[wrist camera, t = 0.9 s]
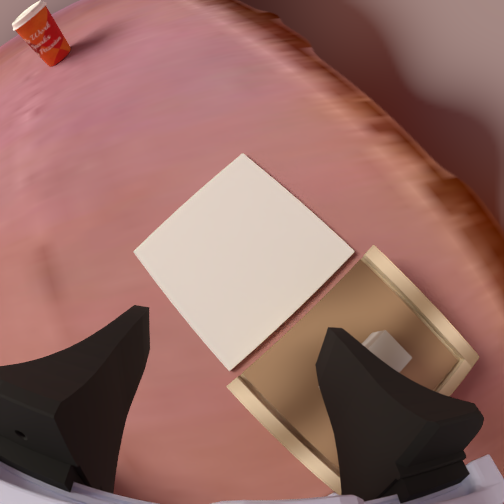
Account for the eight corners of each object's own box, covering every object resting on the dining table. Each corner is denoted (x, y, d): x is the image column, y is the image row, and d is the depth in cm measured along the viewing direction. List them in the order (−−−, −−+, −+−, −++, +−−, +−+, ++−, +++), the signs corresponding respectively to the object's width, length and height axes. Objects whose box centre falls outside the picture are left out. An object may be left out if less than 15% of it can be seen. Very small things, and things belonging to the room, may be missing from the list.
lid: (453, 359, 18) (481, 360, 14) (344, 471, 17) (352, 495, 13) (359, 261, 21) (370, 242, 17) (243, 372, 20) (230, 378, 16)
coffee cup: (40, 76, 45) (4, 32, 31) (49, 56, 47) (18, 15, 33) (71, 57, 44) (36, 8, 30) (79, 38, 47) (48, -7, 32)
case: (454, 356, 21) (479, 357, 17) (336, 476, 20) (342, 498, 16) (362, 260, 25) (373, 244, 21) (238, 379, 24) (226, 386, 19)
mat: (354, 252, 25) (354, 251, 25) (230, 370, 24) (229, 371, 23) (243, 155, 29) (242, 153, 29) (135, 252, 28) (133, 251, 28)
